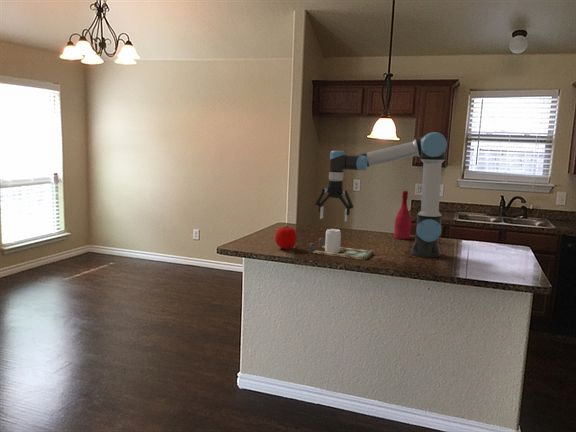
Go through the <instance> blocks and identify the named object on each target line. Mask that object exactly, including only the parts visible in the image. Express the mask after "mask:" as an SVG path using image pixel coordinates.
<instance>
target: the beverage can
mask: <svg viewBox="0 0 576 432" xmlns="http://www.w3.org/2000/svg"><path fill="white" fill-rule="evenodd" d="M341 236H342V233H341V230H340V229H338V228H327V229H326V231H325V239H324V240H325V241H324V242H325V243H324V245H325V248H324V252H331V253H340V252H341V250H340V247H341V238H342V237H341Z"/></svg>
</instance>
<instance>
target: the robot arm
mask: <svg viewBox="0 0 576 432" xmlns="http://www.w3.org/2000/svg"><path fill="white" fill-rule="evenodd" d="M447 146H448V142H447V139H446V137H445V136H444V135H443V134H442V133H441V132H436V131H433V132H428V133H427V134H425V135H423V136H422V137H418V138H414V139H413V141H410V142H407V143H402V144H397V145H393V146H388V147H385V148H381V149H377V150H373V151H369V152H363V153H360V154H356V155H354V154H351V155H349V154H345V151H344V150H331V151H330V154H329V166H328V167H329V168H328V182H327V183H328V185H327V188H326V187H324V188H322V190H321V193H320V194H319V197H318V199H316V202H315V206H318V213H319V215H320V216H319V219H320V220H322V219H324V204H326V203H327V201H328V200H329V199H330V198H333V199H334V198H335V199H339V200H340V201H341V203H342V204H343V206H344V207H345V210H344V222H348V217H349V215H350V213H351V211H350V210H351V209H353V208H354V205H353V202H352V200H351V197H350V194H349V190H348V189H347V190H343V186H344V181H343V180H344V170H349V171H350V170H351V171H366V170H367V168H368V167H372V166H377V165H382V164H386V163H389V162H394V161H398V160H399V161H400V160H404V159H407V158H411V157H418V158H420V161H421V162H422V163H423V165H422V166H423V167H422V185H421V186H422V187H421V201H420V203H421V205H420V211H419V212H418V213H417V215H416V230H415V239H414V242H413V244H412V247H411V251H410V253H411V254H412V255H413V256H416V257H420V258H439V257H441V249H440V248H441V247H440V245H439V237H441V234H442V230H443V229H442V216H443V215H442V214H441V213H440V210H439V209H440V198H441V197H440V196H441V195H440V194H441V180H442V179H441V175H442V165H443V164H442V163H444V161H446V150H447ZM326 193H328V194H327V195H326ZM342 194H343V195H344V196H345V198H346V200H345V198H344V196H343V195H342ZM325 195H326V196H325ZM324 196H325V198H324Z"/></svg>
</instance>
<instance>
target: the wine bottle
mask: <svg viewBox="0 0 576 432" xmlns="http://www.w3.org/2000/svg"><path fill="white" fill-rule="evenodd" d="M408 194H409V191H408V190H403V191H402V196H401V198H402V202H401V206H400V208H399V210H398V212H397V213H396V216H395V219H394V230H393V231H394V235H393V236H394V237H393V238H395V239H397V240H409V239H410V237H411V229H412V218H411V214H410V211H409V207H408V202H407V201H408V198H409V197H408V196H409V195H408Z"/></svg>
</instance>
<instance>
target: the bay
mask: <svg viewBox="0 0 576 432" xmlns="http://www.w3.org/2000/svg"><path fill="white" fill-rule="evenodd" d="M324 240H325V239H324V238H322V237H319V239H318V242H319V243H318V248H319V247H320V248H319V249H321V248H322V249H325V244H324V242H325V241H324ZM340 251H343V253H340V252H338V253H331V252H326V251H323V250H315V243H314V242H310V243H309V254H315V253H317V254H318V255H323V254H324V256H331V257H340V258H345V257H346V258H347V259H354V260H362V261H366V260H367V259H368V258H369V257H371V255H372V254H373V251H374V250H373V249H369V250H366V249H357V248H349V247H341V246H340ZM344 251H345V252H344ZM317 254H316V255H317Z"/></svg>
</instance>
